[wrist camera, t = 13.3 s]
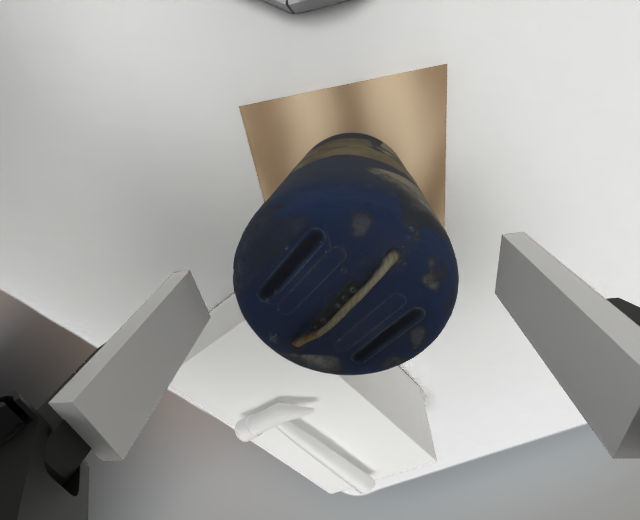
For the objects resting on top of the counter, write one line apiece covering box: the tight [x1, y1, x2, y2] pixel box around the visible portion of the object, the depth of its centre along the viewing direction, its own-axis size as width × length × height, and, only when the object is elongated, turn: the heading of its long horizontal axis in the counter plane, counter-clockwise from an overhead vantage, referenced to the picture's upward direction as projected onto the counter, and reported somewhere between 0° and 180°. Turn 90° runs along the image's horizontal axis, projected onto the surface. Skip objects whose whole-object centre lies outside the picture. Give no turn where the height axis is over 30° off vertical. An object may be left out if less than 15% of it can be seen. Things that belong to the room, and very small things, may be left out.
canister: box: [233, 133, 459, 375], centre depth 19 cm, size 10×10×18 cm
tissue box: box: [169, 293, 437, 494], centre depth 32 cm, size 14×25×11 cm, turn 41°
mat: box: [239, 64, 447, 228], centre depth 27 cm, size 16×16×1 cm
